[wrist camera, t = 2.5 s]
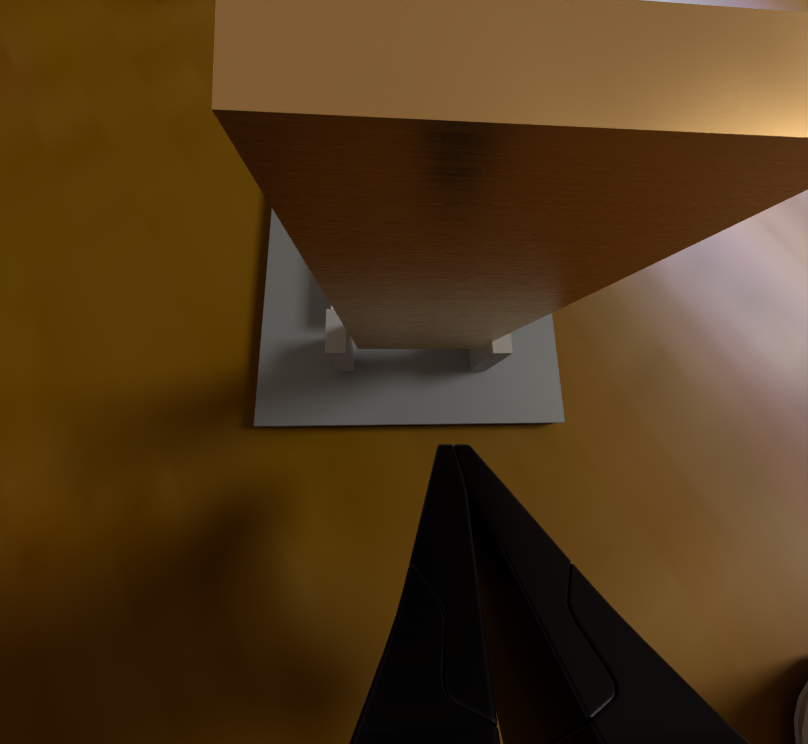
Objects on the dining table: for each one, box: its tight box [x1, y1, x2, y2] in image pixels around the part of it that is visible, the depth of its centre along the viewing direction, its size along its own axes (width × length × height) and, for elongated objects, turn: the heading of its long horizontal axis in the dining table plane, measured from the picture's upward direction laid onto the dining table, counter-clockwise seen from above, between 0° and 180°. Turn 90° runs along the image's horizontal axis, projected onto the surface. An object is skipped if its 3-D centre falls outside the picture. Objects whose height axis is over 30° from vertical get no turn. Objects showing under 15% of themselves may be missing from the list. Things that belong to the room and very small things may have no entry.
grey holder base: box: [254, 209, 565, 427], centre depth 15 cm, size 17×15×5 cm
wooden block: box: [212, 0, 808, 349], centre depth 8 cm, size 1×5×11 cm, turn 91°
